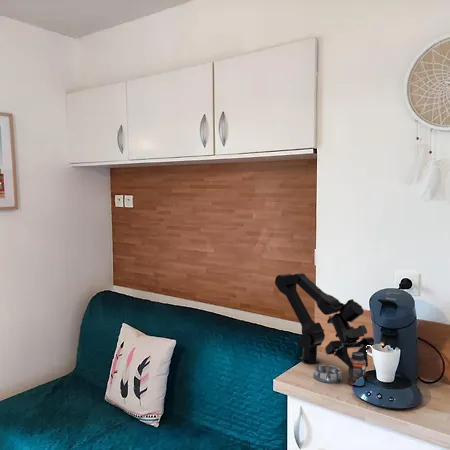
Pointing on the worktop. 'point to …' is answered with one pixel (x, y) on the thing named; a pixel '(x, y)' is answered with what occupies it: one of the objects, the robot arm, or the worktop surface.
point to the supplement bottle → (356, 367)
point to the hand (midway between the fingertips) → (359, 367)
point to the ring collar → (327, 374)
